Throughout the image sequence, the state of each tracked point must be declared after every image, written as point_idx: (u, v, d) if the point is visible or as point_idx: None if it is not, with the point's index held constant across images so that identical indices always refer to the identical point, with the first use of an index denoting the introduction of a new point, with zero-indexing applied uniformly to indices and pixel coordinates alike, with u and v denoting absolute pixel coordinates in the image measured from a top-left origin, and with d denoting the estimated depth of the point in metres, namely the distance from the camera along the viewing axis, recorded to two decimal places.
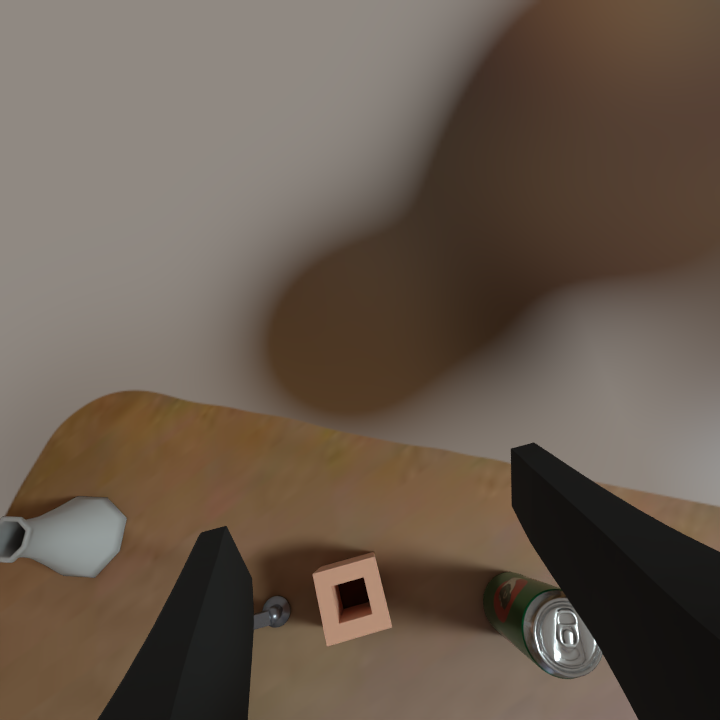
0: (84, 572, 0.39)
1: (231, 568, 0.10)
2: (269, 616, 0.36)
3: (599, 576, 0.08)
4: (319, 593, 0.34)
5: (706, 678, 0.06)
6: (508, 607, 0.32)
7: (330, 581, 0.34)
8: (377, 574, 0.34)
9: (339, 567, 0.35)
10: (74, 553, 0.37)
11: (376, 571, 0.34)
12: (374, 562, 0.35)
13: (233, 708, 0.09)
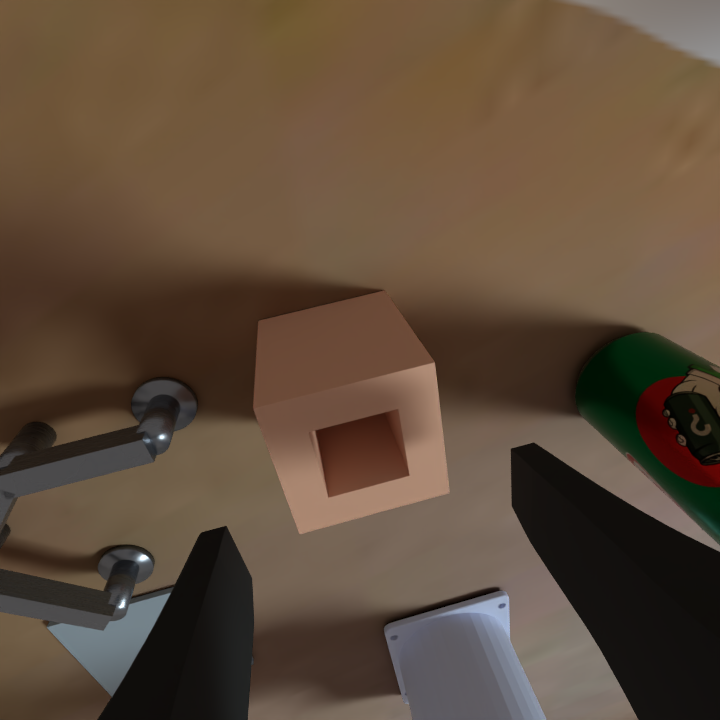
0: None
1: (231, 568, 0.10)
2: (147, 446, 0.15)
3: (600, 576, 0.08)
4: (276, 447, 0.12)
5: (706, 678, 0.06)
6: None
7: (305, 421, 0.12)
8: (435, 401, 0.13)
9: (332, 390, 0.12)
10: None
11: (433, 395, 0.12)
12: (431, 376, 0.12)
13: (233, 708, 0.09)
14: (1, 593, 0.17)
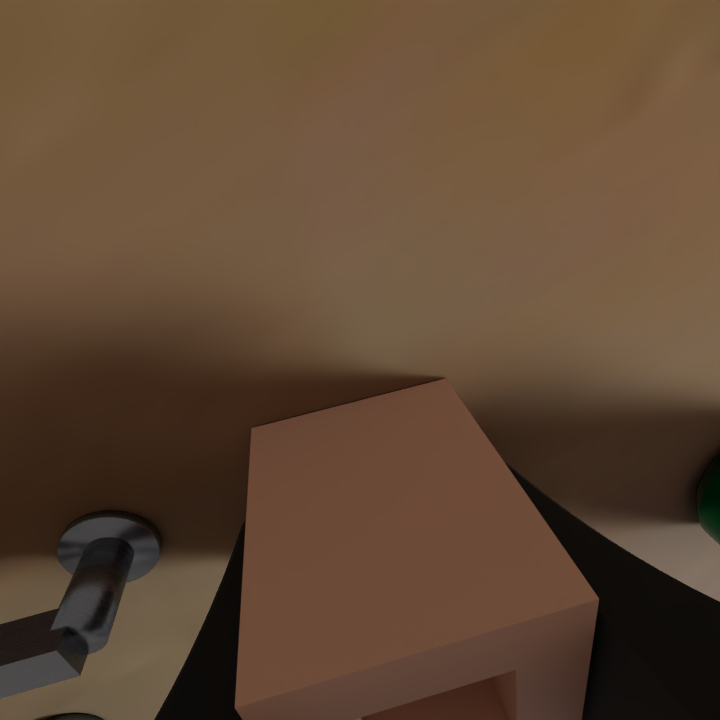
0: None
1: None
2: (67, 654, 0.09)
3: None
4: None
5: (636, 700, 0.06)
6: None
7: (339, 707, 0.06)
8: (584, 651, 0.07)
9: (395, 659, 0.06)
10: None
11: (584, 644, 0.07)
12: (587, 617, 0.06)
13: None
14: None
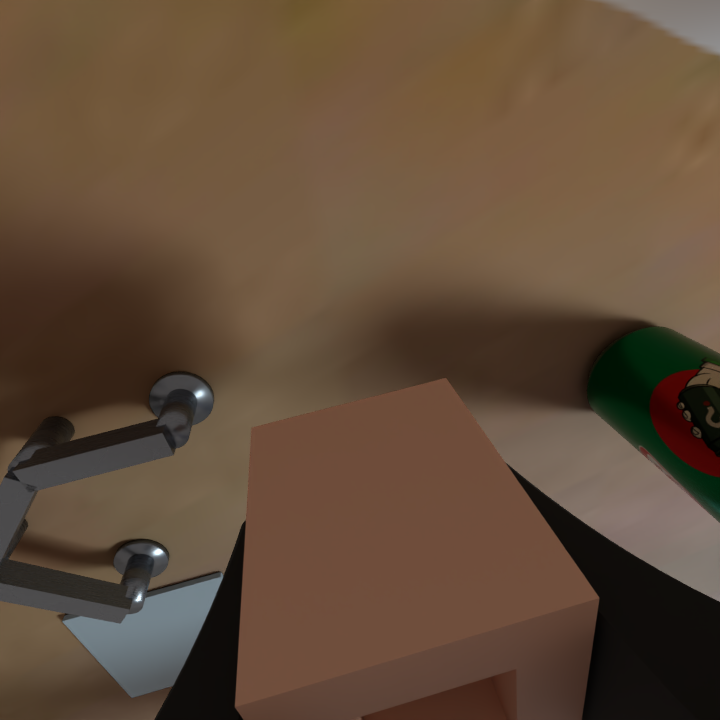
0: None
1: None
2: (167, 439, 0.15)
3: None
4: None
5: (636, 700, 0.06)
6: None
7: (340, 706, 0.06)
8: (584, 650, 0.07)
9: (395, 658, 0.06)
10: None
11: (584, 643, 0.07)
12: (588, 617, 0.06)
13: None
14: (21, 586, 0.17)
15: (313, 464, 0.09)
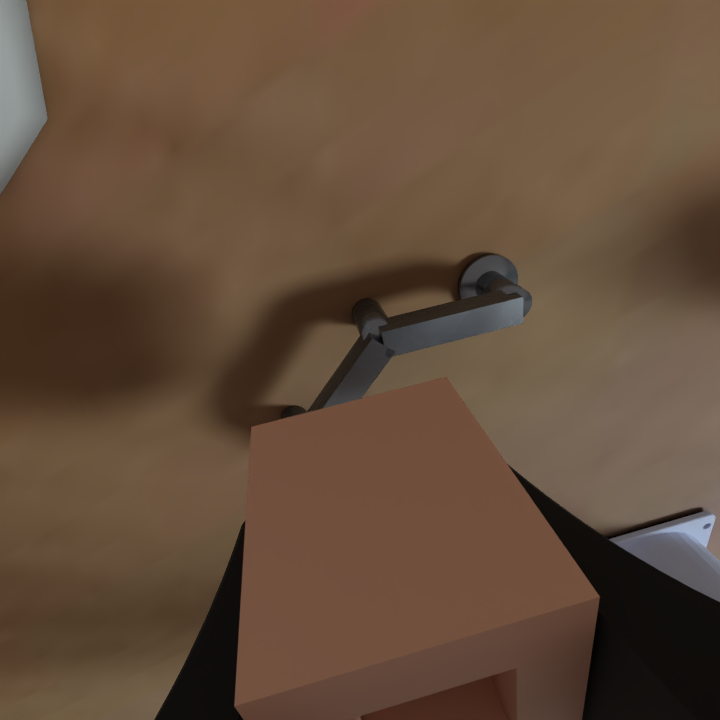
0: None
1: None
2: (520, 306, 0.15)
3: None
4: None
5: (636, 700, 0.06)
6: None
7: (339, 704, 0.06)
8: (584, 650, 0.07)
9: (395, 657, 0.06)
10: None
11: (584, 642, 0.06)
12: (588, 616, 0.06)
13: None
14: None
15: (313, 463, 0.09)
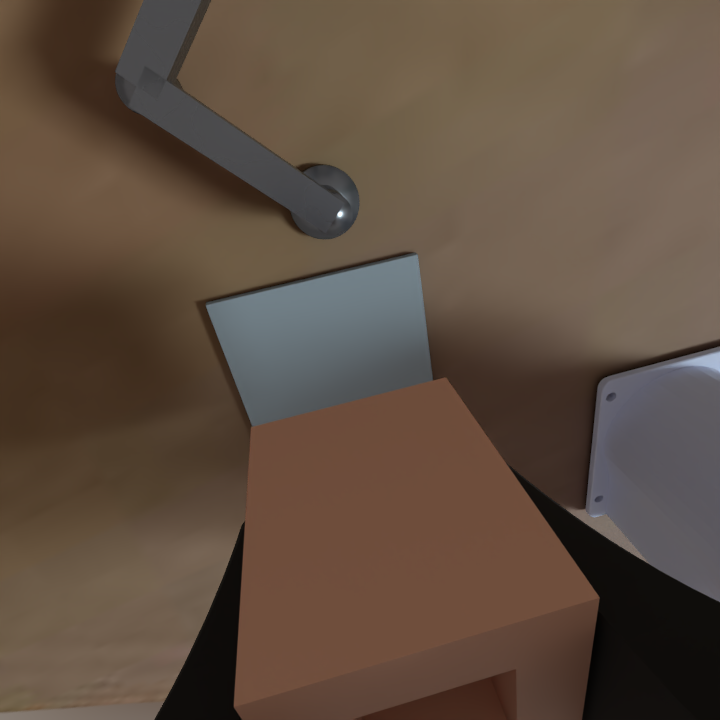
0: None
1: None
2: None
3: None
4: None
5: (636, 700, 0.06)
6: None
7: (338, 706, 0.06)
8: (584, 650, 0.07)
9: (395, 658, 0.06)
10: None
11: (584, 643, 0.06)
12: (588, 617, 0.06)
13: None
14: (206, 108, 0.11)
15: (313, 464, 0.09)
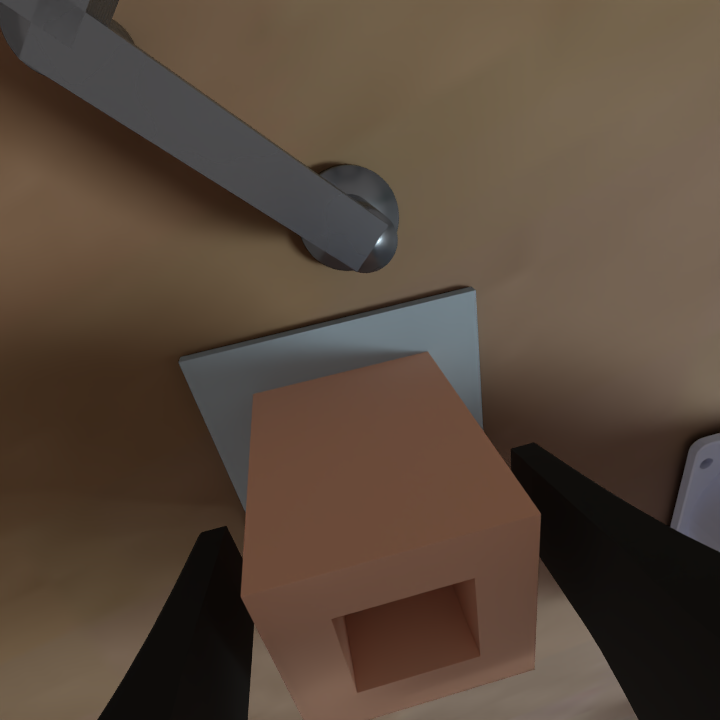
0: None
1: (231, 568, 0.10)
2: None
3: (599, 576, 0.08)
4: (278, 642, 0.08)
5: (706, 678, 0.06)
6: None
7: (326, 604, 0.08)
8: (532, 564, 0.08)
9: (372, 561, 0.07)
10: None
11: (531, 557, 0.08)
12: (532, 531, 0.07)
13: (233, 708, 0.09)
14: (160, 65, 0.06)
15: (307, 421, 0.11)
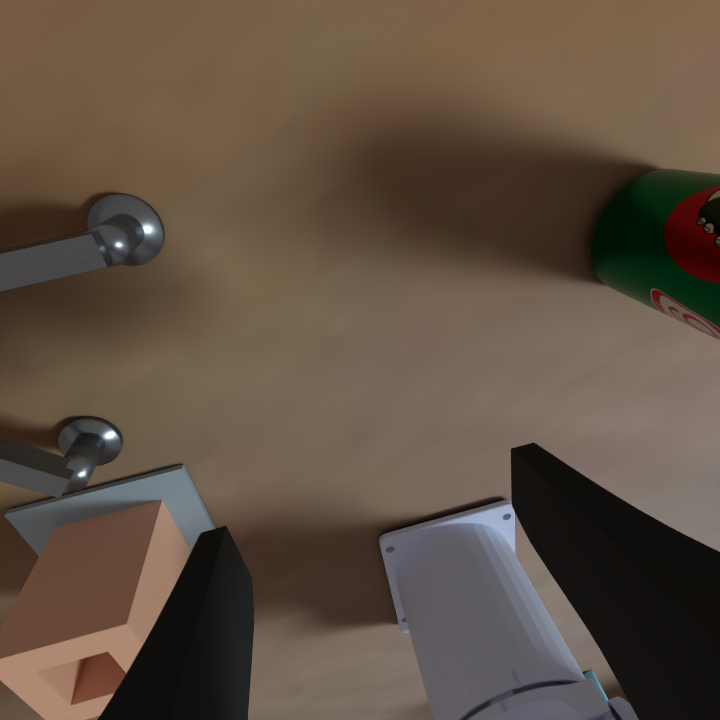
0: None
1: (231, 568, 0.10)
2: (98, 246, 0.13)
3: (599, 576, 0.08)
4: (11, 682, 0.16)
5: (706, 678, 0.06)
6: None
7: (32, 664, 0.16)
8: (138, 644, 0.16)
9: (46, 646, 0.16)
10: None
11: (135, 641, 0.16)
12: (128, 631, 0.16)
13: (233, 708, 0.09)
14: None
15: (69, 553, 0.19)
